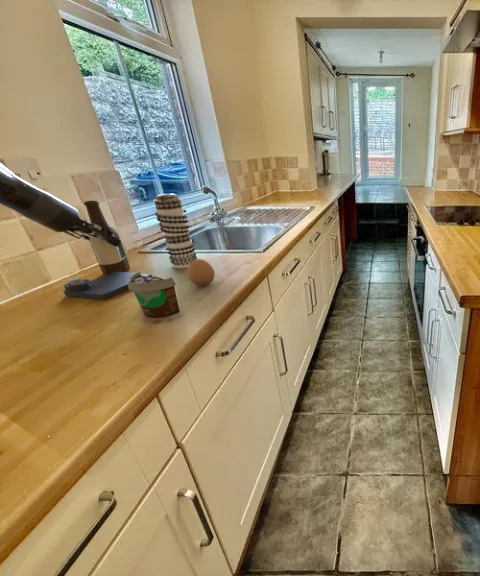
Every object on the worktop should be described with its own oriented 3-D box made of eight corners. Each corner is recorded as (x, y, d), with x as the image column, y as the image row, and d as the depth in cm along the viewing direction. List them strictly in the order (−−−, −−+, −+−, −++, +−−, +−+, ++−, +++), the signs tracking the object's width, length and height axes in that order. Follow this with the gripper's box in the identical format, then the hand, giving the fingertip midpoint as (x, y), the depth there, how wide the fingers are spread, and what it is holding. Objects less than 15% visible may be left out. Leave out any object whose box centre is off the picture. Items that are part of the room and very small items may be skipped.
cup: (94, 264, 93) (82, 234, 90) (112, 258, 98) (101, 229, 95) (109, 265, 92) (98, 235, 89) (126, 259, 97) (116, 230, 94)
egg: (222, 283, 101) (216, 257, 98) (201, 291, 95) (194, 265, 91) (206, 279, 104) (200, 254, 100) (185, 287, 98) (177, 261, 94)
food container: (127, 316, 81) (113, 280, 77) (150, 305, 87) (138, 271, 83) (162, 324, 78) (150, 286, 74) (184, 312, 83) (173, 277, 79)
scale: (63, 297, 92) (58, 286, 91) (117, 276, 107) (113, 266, 105) (103, 301, 89) (99, 290, 88) (153, 279, 104) (149, 269, 103)
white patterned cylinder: (175, 261, 121) (155, 193, 110) (201, 259, 123) (184, 192, 112) (166, 269, 112) (144, 197, 102) (195, 266, 115) (176, 195, 104)
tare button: (68, 285, 92) (65, 280, 91) (78, 282, 94) (76, 276, 94) (76, 286, 91) (73, 280, 91) (86, 282, 94) (83, 277, 93)
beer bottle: (129, 265, 116) (105, 198, 106) (131, 271, 111) (106, 201, 101) (102, 270, 112) (74, 201, 102) (103, 277, 106) (73, 204, 96)
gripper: (77, 198, 79) (135, 233, 95) (32, 197, 82) (96, 231, 97) (62, 224, 77) (125, 256, 92) (17, 222, 79) (85, 253, 95)
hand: (110, 243), depth 95 cm, fingers closed on cup, 5 cm apart
